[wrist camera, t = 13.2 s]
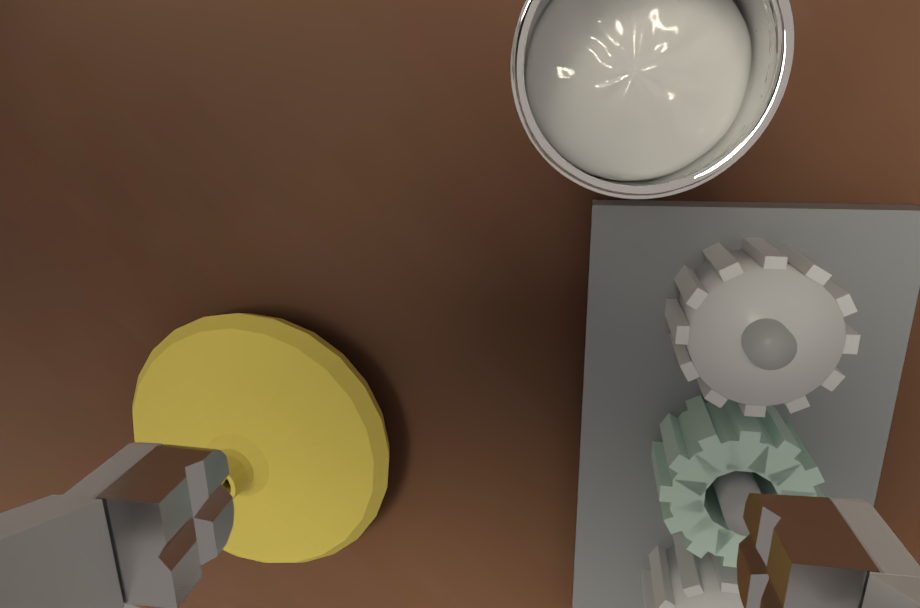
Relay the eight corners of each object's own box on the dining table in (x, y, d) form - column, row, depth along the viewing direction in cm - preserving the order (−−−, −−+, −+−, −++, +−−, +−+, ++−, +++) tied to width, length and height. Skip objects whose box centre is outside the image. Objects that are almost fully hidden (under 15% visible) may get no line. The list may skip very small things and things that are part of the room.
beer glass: (663, 183, 30) (726, 245, 16) (524, 137, 30) (466, 159, 16) (726, 30, 27) (866, -58, 13) (574, -16, 28) (555, -144, 14)
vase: (122, 411, 41) (30, 469, 34) (256, 241, 35) (179, 271, 28) (300, 574, 41) (245, 661, 35) (459, 432, 36) (429, 504, 29)
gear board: (825, 644, 35) (894, 803, 27) (571, 609, 38) (566, 743, 30) (912, 204, 28) (1042, 241, 20) (592, 199, 31) (592, 230, 23)
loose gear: (657, 386, 31) (666, 424, 27) (808, 397, 29) (839, 438, 26) (646, 506, 33) (653, 557, 29) (787, 521, 31) (814, 577, 28)
